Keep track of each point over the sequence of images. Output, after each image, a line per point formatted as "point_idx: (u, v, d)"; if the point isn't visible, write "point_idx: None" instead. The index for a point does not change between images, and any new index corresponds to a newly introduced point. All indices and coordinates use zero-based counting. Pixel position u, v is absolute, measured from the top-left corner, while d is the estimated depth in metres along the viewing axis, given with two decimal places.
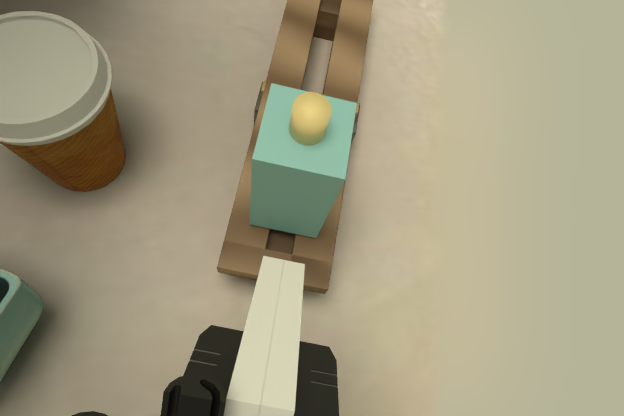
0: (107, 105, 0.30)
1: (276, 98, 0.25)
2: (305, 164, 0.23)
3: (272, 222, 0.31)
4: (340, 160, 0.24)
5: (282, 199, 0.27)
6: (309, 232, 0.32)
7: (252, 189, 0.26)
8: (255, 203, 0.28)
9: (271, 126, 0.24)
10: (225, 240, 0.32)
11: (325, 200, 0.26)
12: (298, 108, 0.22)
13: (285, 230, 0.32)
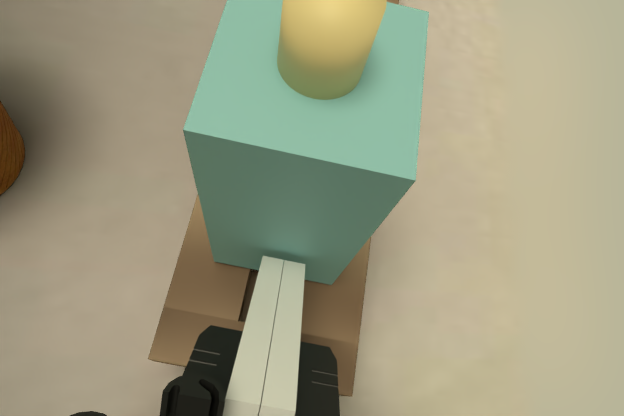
0: None
1: None
2: (317, 143, 0.09)
3: (253, 260, 0.17)
4: (402, 135, 0.10)
5: (267, 223, 0.13)
6: (319, 277, 0.18)
7: (203, 203, 0.13)
8: (216, 229, 0.14)
9: (234, 55, 0.10)
10: (166, 306, 0.18)
11: (358, 226, 0.12)
12: None
13: None
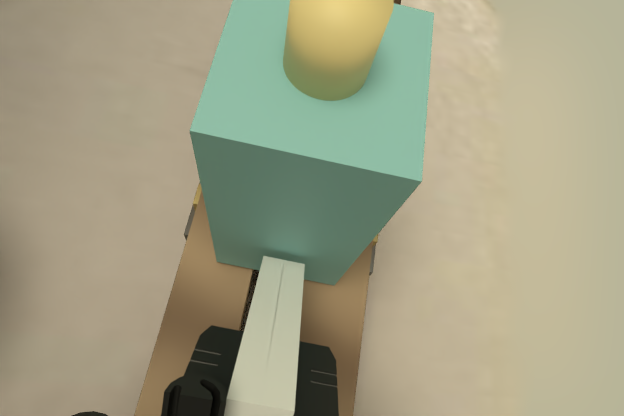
0: None
1: None
2: (323, 145, 0.09)
3: (256, 260, 0.17)
4: (407, 136, 0.10)
5: (271, 223, 0.13)
6: (322, 277, 0.18)
7: (208, 203, 0.13)
8: (219, 229, 0.14)
9: (240, 55, 0.10)
10: None
11: (362, 227, 0.12)
12: None
13: None
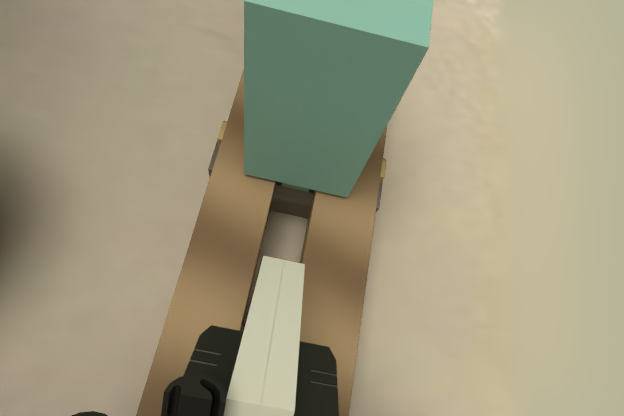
0: None
1: None
2: (350, 17, 0.12)
3: (280, 168, 0.19)
4: (417, 15, 0.12)
5: (299, 114, 0.16)
6: (337, 186, 0.20)
7: (247, 92, 0.15)
8: (252, 127, 0.17)
9: None
10: None
11: (377, 111, 0.15)
12: None
13: (300, 184, 0.20)
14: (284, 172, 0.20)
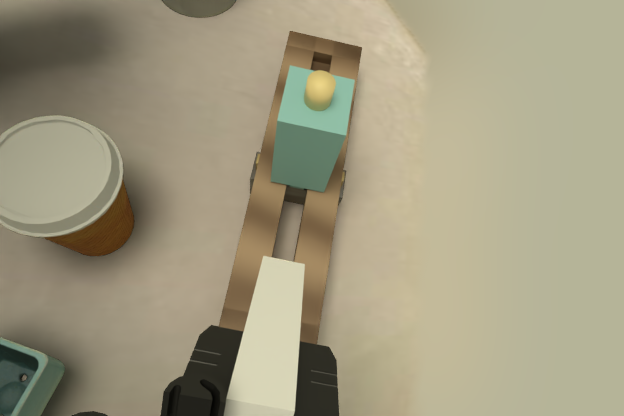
0: (119, 193, 0.34)
1: (293, 76, 0.33)
2: (316, 124, 0.31)
3: (289, 178, 0.39)
4: (342, 122, 0.32)
5: (298, 155, 0.35)
6: (318, 187, 0.40)
7: (275, 147, 0.35)
8: (276, 160, 0.36)
9: (290, 97, 0.32)
10: (224, 307, 0.36)
11: (331, 155, 0.34)
12: (311, 82, 0.30)
13: (299, 185, 0.40)
14: (291, 180, 0.39)
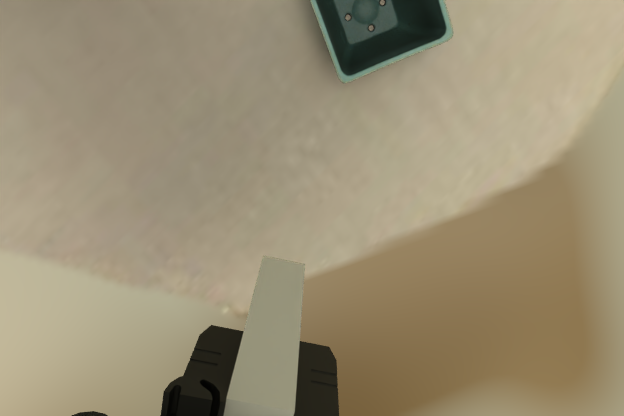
0: None
1: None
2: None
3: None
4: None
5: None
6: None
7: None
8: None
9: None
10: None
11: None
12: None
13: None
14: None
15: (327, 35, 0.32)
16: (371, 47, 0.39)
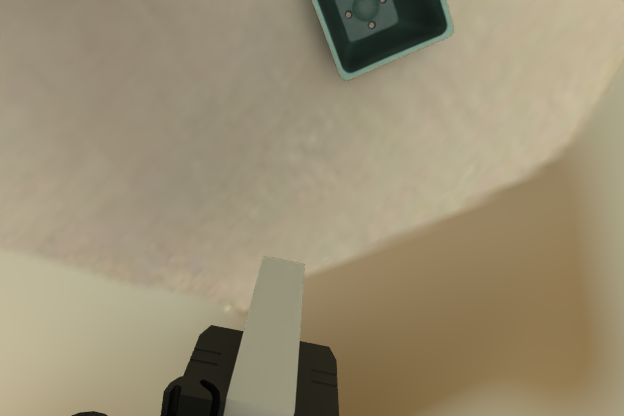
0: None
1: None
2: None
3: None
4: None
5: None
6: None
7: None
8: None
9: None
10: None
11: None
12: None
13: None
14: None
15: (328, 32, 0.32)
16: (371, 44, 0.39)
